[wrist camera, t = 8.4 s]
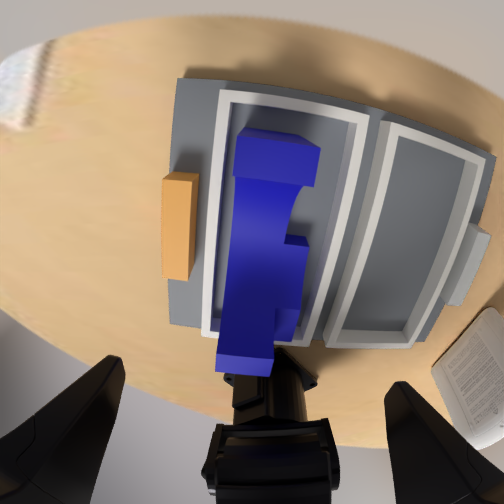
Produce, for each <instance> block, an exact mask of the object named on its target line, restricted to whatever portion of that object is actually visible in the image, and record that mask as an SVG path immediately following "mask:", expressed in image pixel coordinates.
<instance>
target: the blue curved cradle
mask: <svg viewBox="0 0 504 504" xmlns="http://www.w3.org/2000/svg"><path fill="white" fill-rule="evenodd" d="M320 151H321V148H320V147H318V146H317V145H315V144H313V143H312V142H310V141H308V140H307V139H305V138H303V137H301V136H299V135H296V134H290V133H283V132H277V131H270V130H262V129H254V128H246V127H244V128H243V129H242V130H241V131H240V133H239V134H238V135H237V139H236V147H235V156H234V165H233V174H232V176H235V191H234V205H233V217H232V227H231V237H230V246H229V256H228V265H227V274H226V282H225V291H224V299H223V307H222V315H221V323H220V331H219V338H218V346H217V353H216V366H215V372H223V373H232V374H242V375H253V376H265V377H269V376H270V373H271V369H272V365H273V362H274V341H283V342H292V339H293V335H294V332H295V328H296V325H297V321H298V318H299V314H300V311H301V299H302V289H303V281H304V274H305V268H306V262H307V257H308V252H309V244H308V241H307V239H306V237H305V236H298V235H290V234H286V231H287V226H288V222H289V218H290V215H291V211H292V208H293V205H294V203H295V200H296V198H297V195H298V193H299V192H300V190H301V188H302V187H303V186H308V187H314V184H315V179H316V173H317V168H318V162H319V157H320Z"/></svg>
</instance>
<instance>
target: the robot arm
mask: <svg viewBox="0 0 504 504" xmlns="http://www.w3.org/2000/svg"><path fill="white" fill-rule="evenodd" d="M279 353H281V354H279ZM223 379H224V381H225V382H227V383H228V384H230V385H231V386H232V387H233V400H232V407H233V408H234V418H233V425H224V424H216V428H215V432H213V434H212V439H211V443H210V447H209V451H208V455H207V459H206V461H205V464H204V466H203V468H202V470H201V475H202V477H203V478H204V479H205V480H206V482H207V487H208V491H209V493H210V495H213V496H216V504H331V491H333V490H337V489H338V487H339V483H340V465H339V457H338V453H337V449H336V445H335V441H334V438H333V434H332V431H331V427H330V423H329V420H328V418H323V419H321V420H314V421H308V420H307V411H306V403H305V395H304V392H305V391H307V390H309V389H312V388H314V387H316V386H317V380H316V379H315V378H314V377H313V376H312V375H311V374H310V373H309V372H308V371H307V370H306V369H304V368H303V367H302V366H301V365H300V364H299V363H298V362H297V361H296V360H295V359H294V358H293V357H292V356H291V355H290V354H288V353H287V352H286V351H285V350H284V349H283V348H277V349H275V350H274V362H273V365H272V369H271V373H270V376H269V377H265V376H253V375H242V374H232V373H225V374H224V378H223ZM124 382H125V370H124V366H123V362H122V359H121V358H120V357H118V356H114V355H108V356H106V357H105V358H104V359H102V360H101V361H100V362H99V363H97V364H96V365H95V366H94V367H92V368H91V369H90V370H89V371H87V372H86V373H85V374H84V375H83V376H81V377H80V378H79V379H77V380H76V381H75V382H74V383H72V384H71V385H70V386H69V387H67V388H66V389H65V390H63V391H62V392H61V393H60V394H58V395H57V396H56V397H55V398H54V399H52V400H51V401H50V402H49V403H47V404H46V405H45V406H44V407H42V408H41V409H40V410H39V411H37V412H36V413H35V414H34V415H32V416H31V417H30V418H28V419H27V420H26V421H25V422H23V423H22V424H21V425H20V426H18V427H17V428H15V429H14V430H13V431H11V432H9V433H8V434H6V435H5V436H3V437H2V438H0V504H90V500H91V497H92V493H93V490H94V486H95V483H96V479H97V476H98V473H99V469H100V466H101V463H102V459H103V457H104V453H105V450H106V447H107V444H108V441H109V438H110V435H111V432H112V429H113V427H114V424H115V420H116V417H117V413H118V408H119V404H120V399H121V394H122V390H123V386H124ZM384 406H385V418H386V432H387V441H388V447H389V453H390V459H391V466H392V473H393V481H394V488H395V497H396V504H504V473H503V472H502V471H501V470H499V469H498V468H497V467H496V466H494V465H493V464H492V463H491V462H489V461H488V460H487V459H486V458H485V457H484V456H482V455H481V454H480V453H479V452H478V451H477V450H476V449H475V448H474V447H473V446H472V445H471V444H470V443H469V442H467V440H466V439H465V438H464V437H463V436H462V435H461V434H460V433H459V432H458V431H457V430H456V429H455V428H454V427H453V426H452V425H451V424H450V423H449V422H447V421H446V420H445V419H444V418H443V417H442V416H441V415H440V414H439V413H438V412H437V411H436V410H435V409H434V408H433V407H432V406H431V405H430V404H429V403H428V402H427V401H426V400H425V399H424V398H423V397H422V396H421V395H420V394H419V393H418V392H417V391H416V390H415V389H414V388H413V387H412V386H411V385H410V384H409V383H407V382H406V381H398V382H395V383H394V384H393V385H392V387H391V388H390V390H389V391H388V392H387V394H386V395H385V398H384Z"/></svg>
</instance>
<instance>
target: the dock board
mask: <svg viewBox="0 0 504 504" xmlns="http://www.w3.org/2000/svg"><path fill="white" fill-rule="evenodd" d="M244 127H246V128H254V129H262V130H270V131H277V132H283V133H290V134H296V135H299V136H301V137H303V138H305V139H307V140H308V141H310V142H312V143H313V144H315V145H317V146H318V147H320V148H321V151H320V157H319V162H318V168H317V173H316V179H315V184H314V187H308V186H303V187H302V188H301V190H300V192H299V193H298V195H297V198H296V200H295V203H294V205H293V208H292V211H291V215H290V218H289V222H288V226H287V231H286V234H290V235H298V236H305V237H306V239H307V241H308V244H309V252H308V257H307V262H306V268H305V274H304V281H303V289H302V299H301V311H300V314H299V318H298V321H297V325H296V328H295V332H294V335H293V339H292V342H283V341H274V344H275V345H288V346H303V347H309V345H310V342H311V340H324V342H325V347H326V348H349V349H409V348H411V347H412V346H413V344H414V342H424V341H425V340H426V338H427V336H428V334H429V333H430V331H431V329H432V327H433V326H434V324H435V322H436V320H437V318H438V316H439V314H440V312H441V310H442V309H443V307H444V305H445V303H446V305H452V306H461V304H462V302H463V300H464V298H465V296H466V294H467V292H468V290H469V288H470V286H471V284H472V282H473V279H474V277H475V275H476V273H477V271H478V268H479V266H480V264H481V261H482V259H483V256H484V254H485V251H486V249H487V246H488V244H489V241H490V238H491V235H490V234H489V233H487V232H486V231H485V230H483V229H482V228H481V227H479V226H478V223H479V220H480V217H481V214H482V211H483V208H484V204H485V201H486V198H487V194H488V190H489V187H490V183H491V179H492V175H493V171H494V166H495V162H496V156H494V155H492V154H490V153H488V152H486V151H484V150H482V149H480V148H478V147H476V146H474V145H472V144H470V143H468V142H465V141H463V140H461V139H459V138H457V137H454V136H452V135H450V134H447V133H445V132H442V131H440V130H438V129H435V128H433V127H430V126H427V125H425V124H422V123H419V122H417V121H414V120H411V119H408V118H405V117H403V116H400V115H397V114H394V113H390V112H387V111H384V110H381V109H377V108H374V107H371V106H367V105H364V104H360V103H356V102H352V101H348V100H344V99H340V98H336V97H332V96H327V95H323V94H318V93H313V92H308V91H303V90H297V89H291V88H285V87H279V86H272V85H265V84H257V83H248V82H239V81H227V80H213V79H191V78H177V86H176V94H175V104H174V114H173V125H172V137H171V151H170V168H169V174H168V175H167V176H166V177H165V178H163V179H162V211H161V245H162V278H168V293H169V315H170V324H174V325H180V326H187V327H194V328H201V336H203V337H210V338H219V331H220V323H221V315H222V307H223V299H224V291H225V282H226V274H227V265H228V256H229V246H230V237H231V227H232V217H233V205H234V191H235V176H232V174H233V165H234V156H235V147H236V139H237V135H238V134H239V133H240V131H241V130H242V129H243V128H244Z"/></svg>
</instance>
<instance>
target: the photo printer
mask: <svg viewBox="0 0 504 504" xmlns="http://www.w3.org/2000/svg"><path fill="white" fill-rule="evenodd" d="M431 374H432V376H433V379H434V381H435V383H436V385H437V387H438V389H439V391H440V394H441V396H442V398H443V400H444V403H445V405H446V407H447V410H448V412H449V415H450V417H451V419H452V422H453V424H454V427H455V429H456V430H457V431H458V432H459V433H460V434H461V435H462V436H463V437H464V438H465V439H466V440H467V442H469V443H470V444H471V445H472V446H473V447H474V448H475V449H476V450H479V449H482V448H485V447H488V446H490V445H492V444H493V443H495V442H497V441H499V440H500V439H502V438H503V437H504V319H503V317H502V316H501V315H500V314H499V313H498V311H497V310H496V309H495V308H493V307H489V308H486V309H485V310H484V311H483V312H482V313H481V314H480V315H479V316H478V317H477V318H476V319H475V320H474V322H473V323H472V324H471V325H470V326H469V328H468V329H467V330H466V331H465V332H464V333H463V335H462V336H461V337H460V338H459V339H458V340H457V341H456V342H455V344H454V345H453V346H452V347H451V348H450V349H449V350H448V351H447V352H446V353H445V354H444V355H443V356H442V357H441V358H440V359H439V361H438V362H437V363H436V364H435V365H434V366H433V367H432V369H431Z"/></svg>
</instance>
